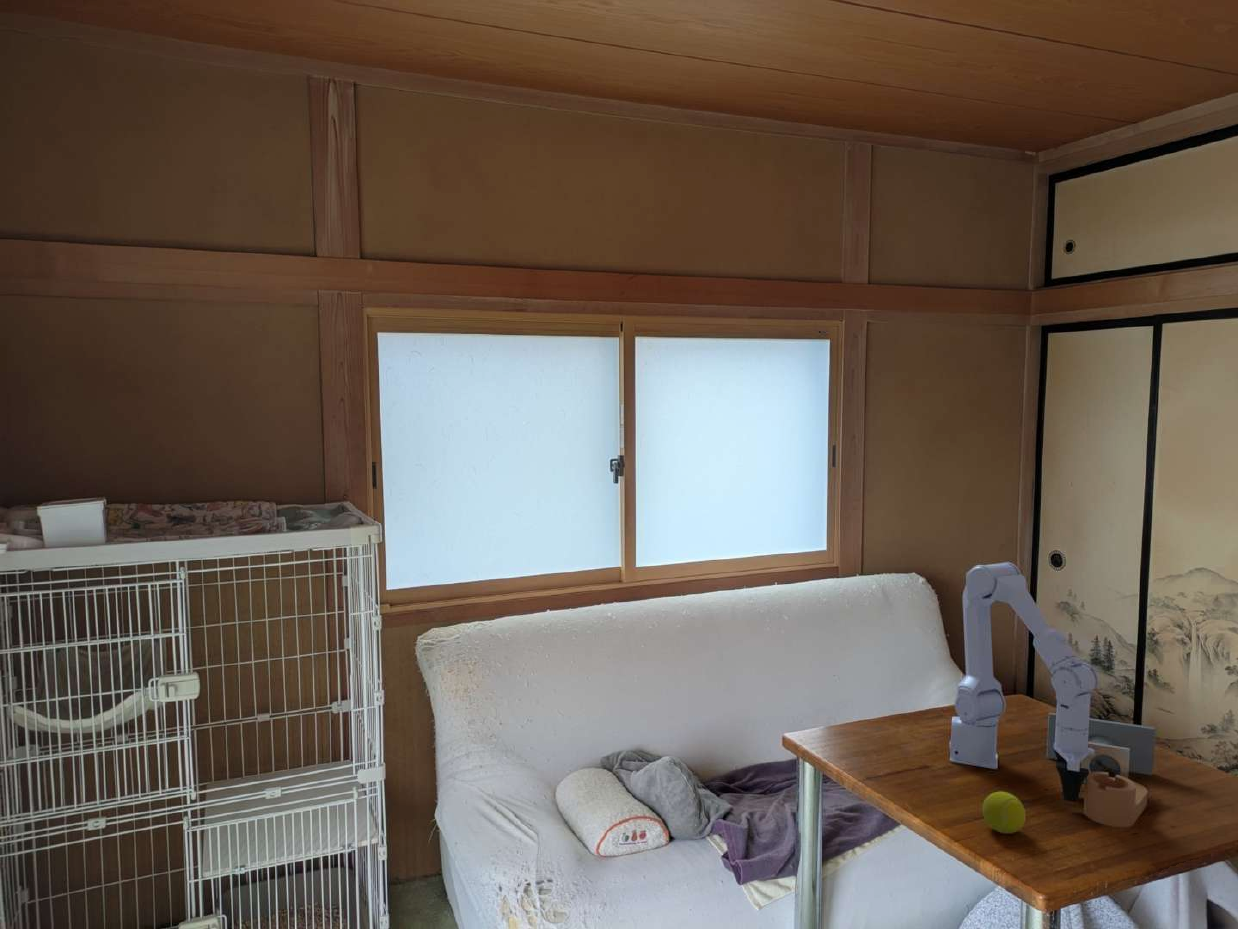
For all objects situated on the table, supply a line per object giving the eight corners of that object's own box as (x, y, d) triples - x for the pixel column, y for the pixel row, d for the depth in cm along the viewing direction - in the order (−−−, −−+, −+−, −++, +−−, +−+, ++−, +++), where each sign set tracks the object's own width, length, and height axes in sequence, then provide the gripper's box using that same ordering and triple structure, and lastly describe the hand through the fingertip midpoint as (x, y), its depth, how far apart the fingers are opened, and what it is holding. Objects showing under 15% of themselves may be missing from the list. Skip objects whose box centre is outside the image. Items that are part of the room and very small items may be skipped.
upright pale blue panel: (1049, 777, 178) (1051, 730, 177) (1046, 756, 189) (1048, 712, 188) (1160, 796, 170) (1163, 747, 169) (1151, 773, 180) (1154, 727, 180)
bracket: (1127, 832, 155) (1130, 795, 154) (1078, 816, 161) (1080, 781, 160) (1151, 800, 168) (1153, 766, 167) (1104, 786, 174) (1106, 753, 173)
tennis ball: (1032, 837, 153) (1034, 799, 152) (1002, 843, 150) (1004, 805, 150) (1002, 819, 159) (1004, 783, 159) (973, 825, 157) (975, 788, 156)
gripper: (1099, 742, 158) (1095, 812, 159) (1091, 716, 171) (1088, 781, 172) (1056, 735, 161) (1053, 804, 162) (1052, 711, 174) (1049, 775, 175)
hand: (1068, 792), depth 167 cm, fingers open, 7 cm apart
